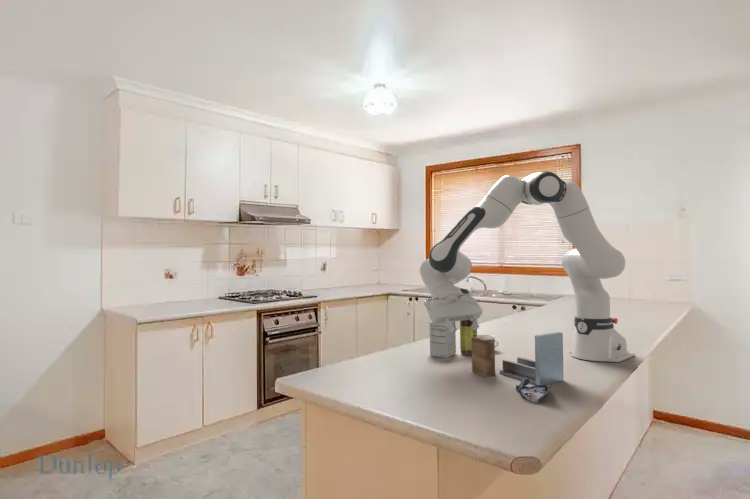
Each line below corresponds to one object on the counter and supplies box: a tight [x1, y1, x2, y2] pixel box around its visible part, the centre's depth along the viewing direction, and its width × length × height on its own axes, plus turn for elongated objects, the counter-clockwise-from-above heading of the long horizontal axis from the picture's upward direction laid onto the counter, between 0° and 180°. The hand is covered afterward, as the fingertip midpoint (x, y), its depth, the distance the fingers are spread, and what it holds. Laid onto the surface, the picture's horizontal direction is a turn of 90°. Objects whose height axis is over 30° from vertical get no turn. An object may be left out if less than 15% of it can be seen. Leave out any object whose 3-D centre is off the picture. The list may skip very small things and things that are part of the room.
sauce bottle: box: [459, 320, 478, 356], centre depth 169 cm, size 7×6×20 cm
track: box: [499, 331, 565, 386], centre depth 138 cm, size 10×16×14 cm, turn 29°
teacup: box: [477, 333, 499, 348], centre depth 175 cm, size 10×8×5 cm
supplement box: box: [428, 320, 457, 359], centre depth 169 cm, size 7×7×13 cm
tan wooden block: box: [471, 336, 496, 378], centre depth 143 cm, size 4×6×11 cm, turn 29°
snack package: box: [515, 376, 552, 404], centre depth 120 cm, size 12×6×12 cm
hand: (465, 329), depth 150 cm, fingers open, 8 cm apart
